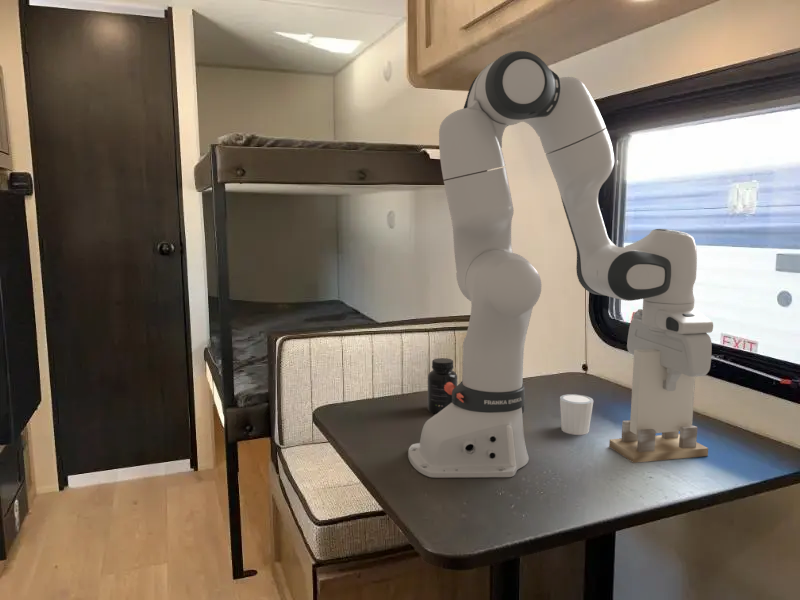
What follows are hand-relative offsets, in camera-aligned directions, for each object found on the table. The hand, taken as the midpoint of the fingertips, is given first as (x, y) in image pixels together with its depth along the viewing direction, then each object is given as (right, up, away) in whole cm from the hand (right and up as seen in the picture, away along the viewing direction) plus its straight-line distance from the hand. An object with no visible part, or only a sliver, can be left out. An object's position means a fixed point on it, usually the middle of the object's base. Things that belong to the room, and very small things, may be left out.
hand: (662, 387), depth 118 cm
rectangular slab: (0, -9, +1) cm, 9 cm away
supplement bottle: (-41, -9, +25) cm, 49 cm away
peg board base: (0, -13, +2) cm, 13 cm away
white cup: (-13, -11, +13) cm, 22 cm away
